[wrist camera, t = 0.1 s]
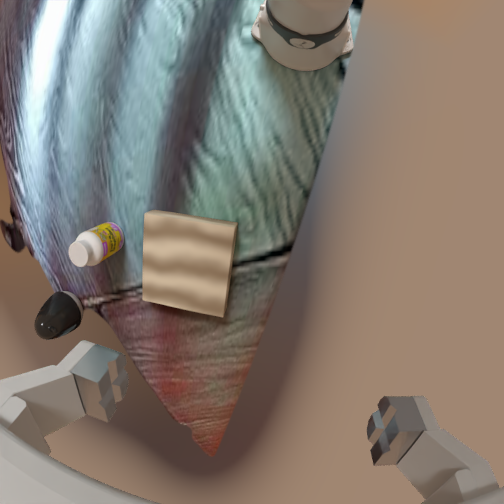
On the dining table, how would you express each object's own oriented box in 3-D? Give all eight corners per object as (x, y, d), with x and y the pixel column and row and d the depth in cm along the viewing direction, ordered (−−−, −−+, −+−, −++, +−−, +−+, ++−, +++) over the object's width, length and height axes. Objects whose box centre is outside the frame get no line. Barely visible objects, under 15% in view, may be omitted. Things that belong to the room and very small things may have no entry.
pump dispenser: (94, 321, 67) (62, 354, 53) (67, 321, 69) (34, 350, 54) (81, 284, 64) (44, 312, 50) (54, 286, 66) (17, 312, 51)
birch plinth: (153, 209, 57) (144, 213, 53) (237, 222, 56) (234, 227, 52) (150, 291, 62) (142, 299, 59) (226, 307, 62) (223, 317, 58)
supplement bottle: (129, 248, 60) (97, 269, 48) (105, 253, 61) (72, 275, 49) (119, 217, 58) (85, 233, 46) (96, 225, 59) (60, 241, 47)
